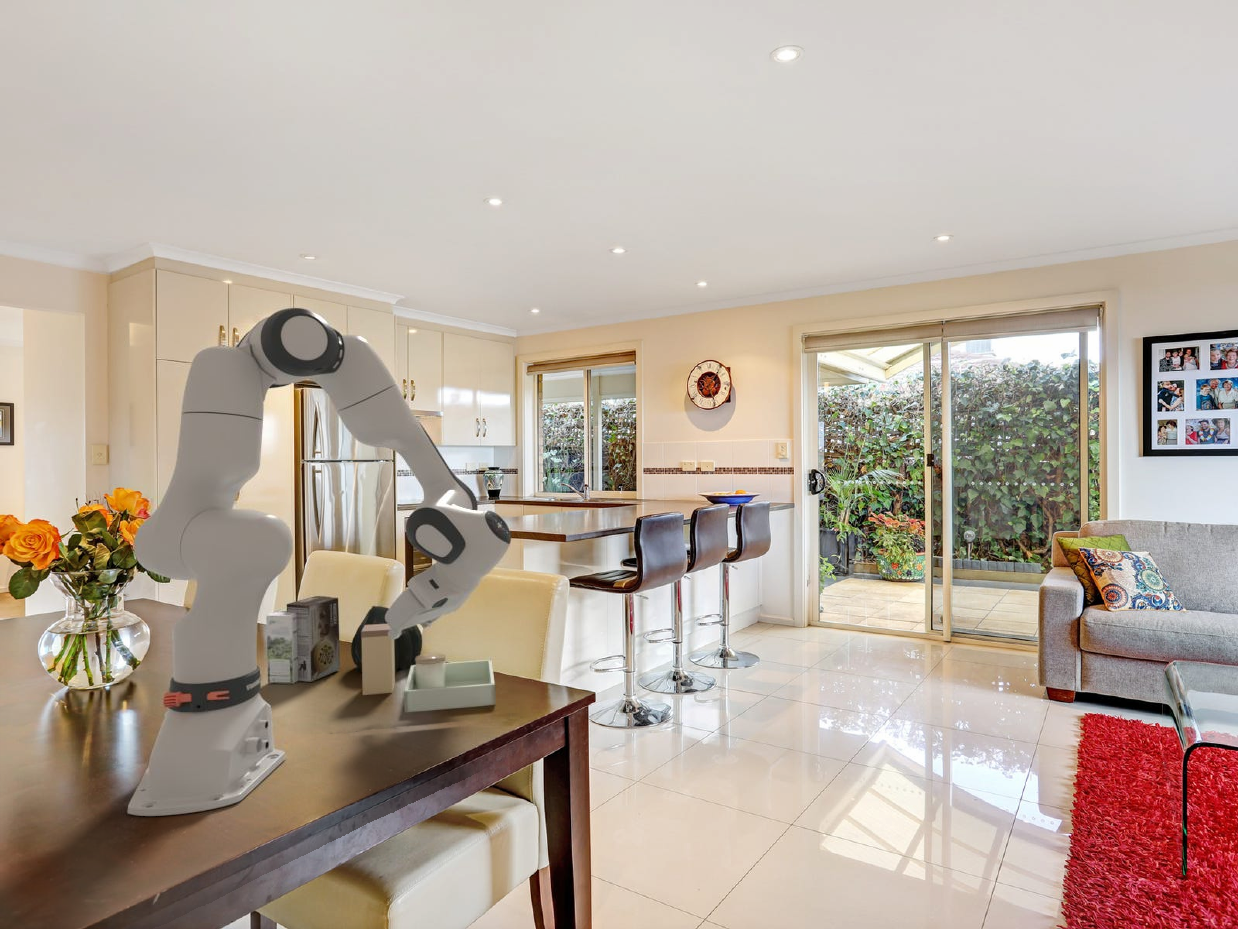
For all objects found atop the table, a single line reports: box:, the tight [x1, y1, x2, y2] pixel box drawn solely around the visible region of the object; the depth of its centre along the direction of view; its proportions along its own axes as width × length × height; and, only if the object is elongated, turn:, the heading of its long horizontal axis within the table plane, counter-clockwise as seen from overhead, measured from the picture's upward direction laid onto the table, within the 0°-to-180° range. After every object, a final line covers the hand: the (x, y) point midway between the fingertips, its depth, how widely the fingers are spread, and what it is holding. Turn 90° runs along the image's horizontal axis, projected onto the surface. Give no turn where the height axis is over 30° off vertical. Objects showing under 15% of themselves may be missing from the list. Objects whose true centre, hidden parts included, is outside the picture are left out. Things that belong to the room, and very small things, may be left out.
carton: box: [361, 624, 396, 696], centre depth 142 cm, size 6×6×13 cm
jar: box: [415, 652, 446, 690], centre depth 143 cm, size 6×6×6 cm
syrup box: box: [265, 609, 299, 685], centre depth 152 cm, size 6×6×14 cm
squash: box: [350, 605, 423, 673], centre depth 158 cm, size 14×15×15 cm
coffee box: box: [286, 595, 341, 683], centre depth 155 cm, size 9×6×16 cm
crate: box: [403, 659, 496, 713], centre depth 139 cm, size 17×16×4 cm
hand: (408, 630), depth 140 cm, fingers open, 8 cm apart
